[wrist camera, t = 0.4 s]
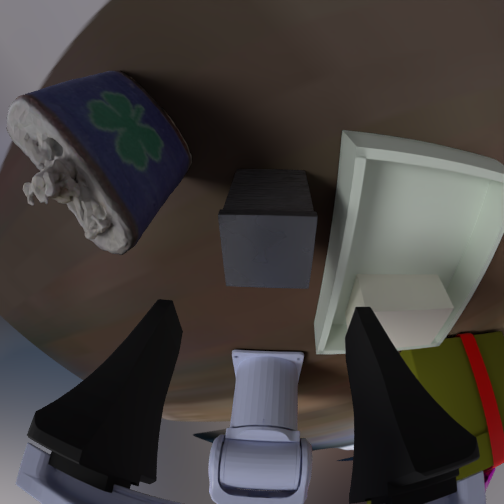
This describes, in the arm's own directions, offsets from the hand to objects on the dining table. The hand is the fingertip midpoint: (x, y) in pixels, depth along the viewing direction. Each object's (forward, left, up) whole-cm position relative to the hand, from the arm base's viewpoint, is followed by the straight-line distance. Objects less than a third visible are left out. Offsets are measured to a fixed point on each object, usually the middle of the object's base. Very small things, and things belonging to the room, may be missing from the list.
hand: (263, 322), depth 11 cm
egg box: (-8, -11, -10) cm, 17 cm away
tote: (-4, -11, -10) cm, 16 cm away
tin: (0, 0, -10) cm, 10 cm away
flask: (+6, +8, -11) cm, 15 cm away
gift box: (-25, -24, -11) cm, 36 cm away
